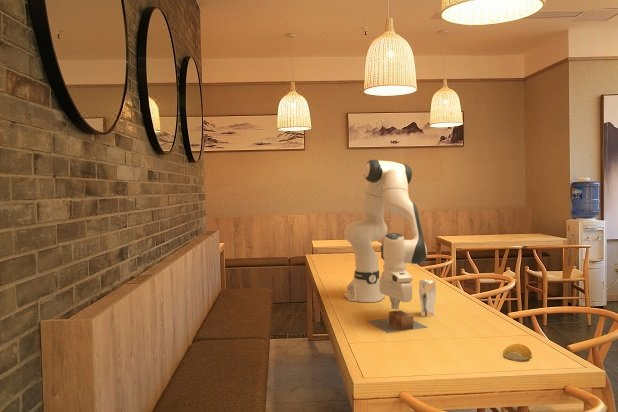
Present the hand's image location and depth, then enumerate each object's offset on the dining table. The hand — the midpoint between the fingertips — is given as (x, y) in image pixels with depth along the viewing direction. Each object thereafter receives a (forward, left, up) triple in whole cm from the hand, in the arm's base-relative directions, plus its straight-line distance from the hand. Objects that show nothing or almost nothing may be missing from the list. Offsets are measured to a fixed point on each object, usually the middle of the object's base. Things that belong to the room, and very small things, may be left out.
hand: (395, 308), depth 205 cm
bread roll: (+48, +18, -7) cm, 52 cm away
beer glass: (-6, +19, -7) cm, 21 cm away
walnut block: (-1, 0, -4) cm, 4 cm away
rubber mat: (+1, 0, -7) cm, 7 cm away
